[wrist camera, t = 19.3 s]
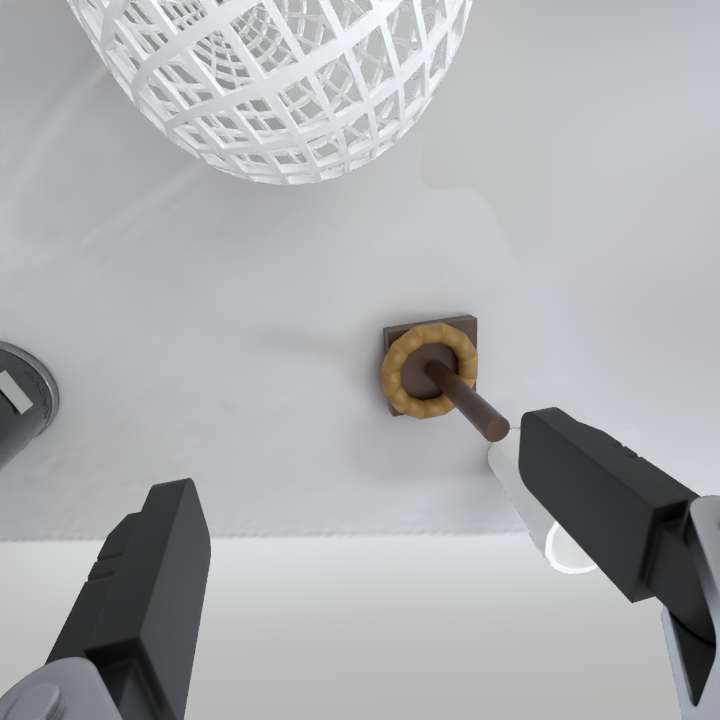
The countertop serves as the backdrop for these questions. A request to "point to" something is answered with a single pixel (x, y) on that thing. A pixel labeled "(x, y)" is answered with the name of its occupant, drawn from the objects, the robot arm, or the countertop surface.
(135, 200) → the countertop surface
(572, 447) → the robot arm
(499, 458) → the foam cup
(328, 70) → the heart
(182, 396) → the countertop surface
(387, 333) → the post
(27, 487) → the countertop surface
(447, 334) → the ring
